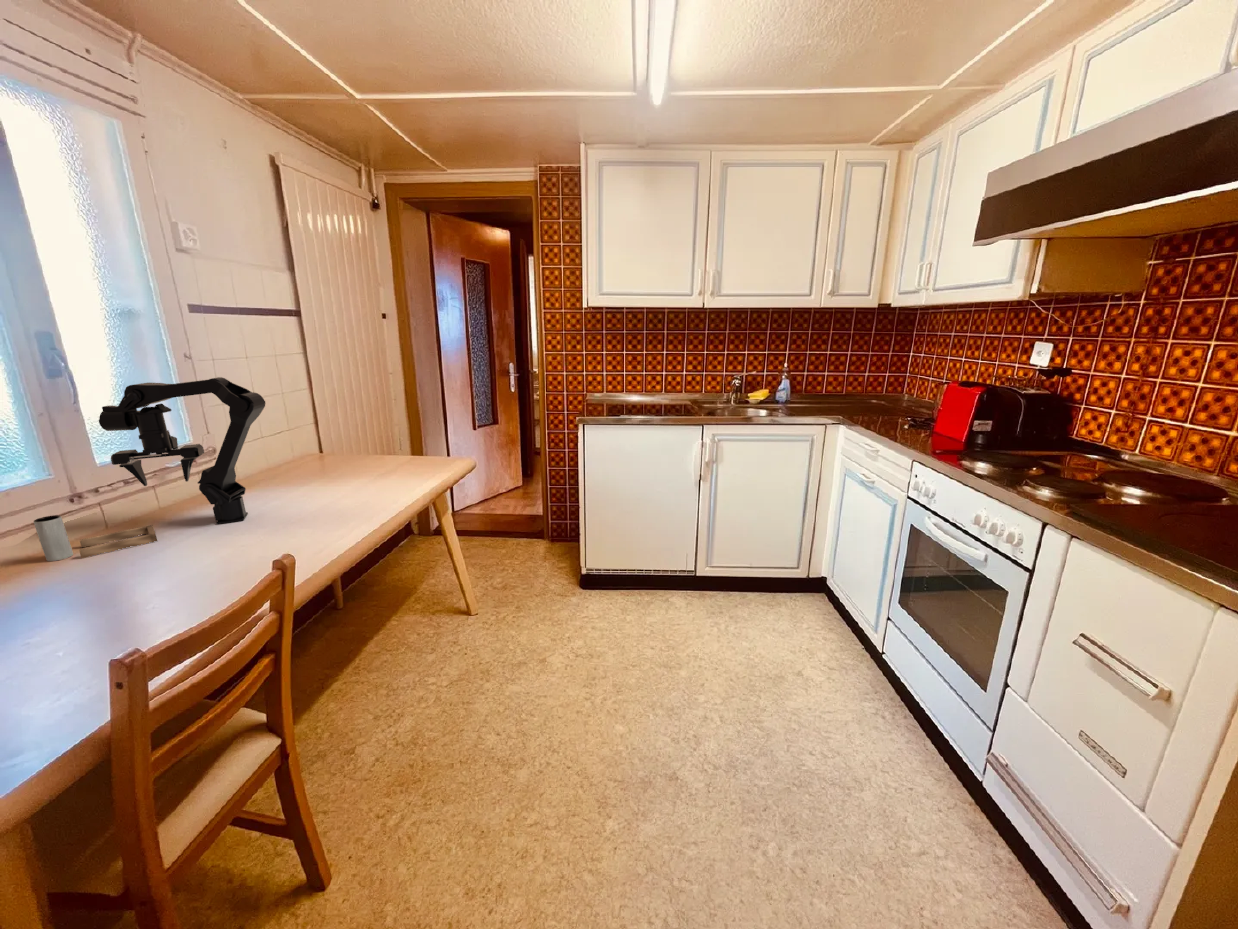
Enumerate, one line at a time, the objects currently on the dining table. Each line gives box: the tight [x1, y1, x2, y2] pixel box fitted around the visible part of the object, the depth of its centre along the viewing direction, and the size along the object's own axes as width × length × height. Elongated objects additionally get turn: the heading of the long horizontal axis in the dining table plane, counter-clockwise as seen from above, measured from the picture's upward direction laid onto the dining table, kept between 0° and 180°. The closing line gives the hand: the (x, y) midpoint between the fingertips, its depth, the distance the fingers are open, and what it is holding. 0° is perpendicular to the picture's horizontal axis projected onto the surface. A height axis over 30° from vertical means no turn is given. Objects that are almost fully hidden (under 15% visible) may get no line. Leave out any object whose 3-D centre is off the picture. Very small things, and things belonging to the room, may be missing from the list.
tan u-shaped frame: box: [78, 524, 158, 559], centre depth 131 cm, size 14×10×2 cm
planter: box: [33, 514, 74, 562], centre depth 122 cm, size 4×4×10 cm
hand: (166, 483), depth 142 cm, fingers open, 9 cm apart
